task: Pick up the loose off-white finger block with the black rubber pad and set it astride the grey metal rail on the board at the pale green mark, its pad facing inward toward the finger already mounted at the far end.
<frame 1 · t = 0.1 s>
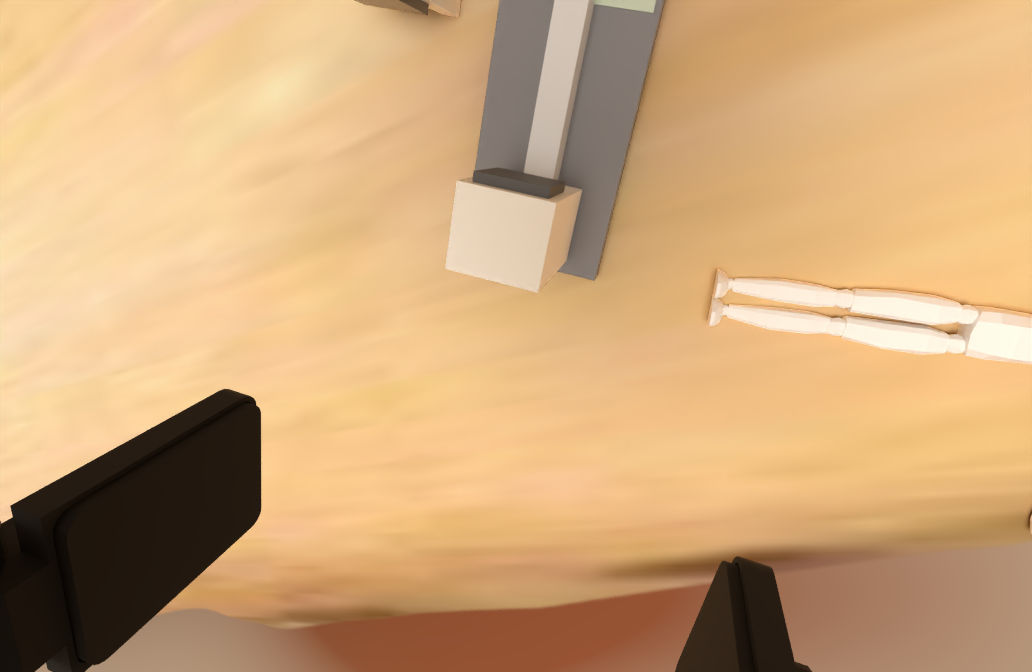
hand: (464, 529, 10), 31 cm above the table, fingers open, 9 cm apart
articulated figure: (950, 322, 35), on the table
rail board: (567, 79, 36), on the table
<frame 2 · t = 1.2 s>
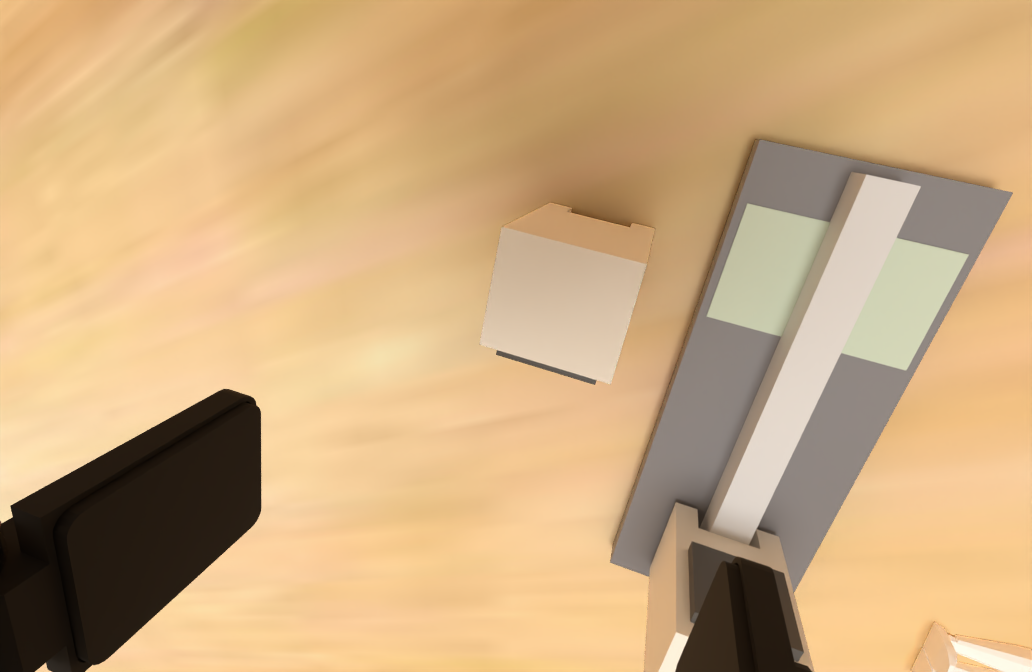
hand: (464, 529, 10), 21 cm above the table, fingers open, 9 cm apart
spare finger: (589, 261, 29), on the table
rail board: (765, 402, 29), on the table
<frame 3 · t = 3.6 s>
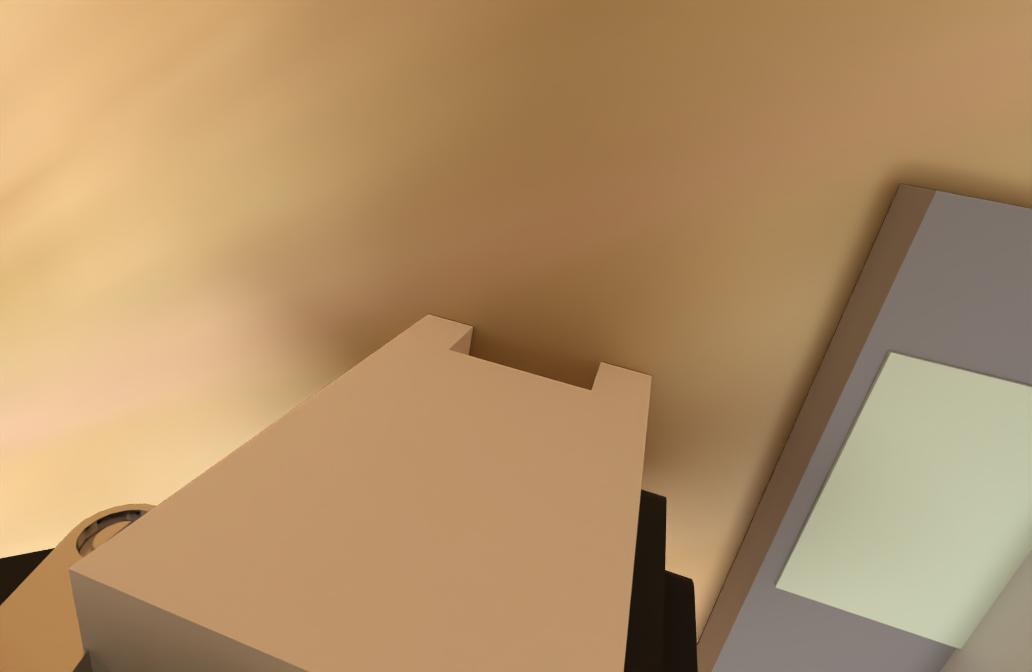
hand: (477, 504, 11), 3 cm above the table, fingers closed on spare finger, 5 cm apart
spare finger: (517, 431, 14), on the table, touching gripper
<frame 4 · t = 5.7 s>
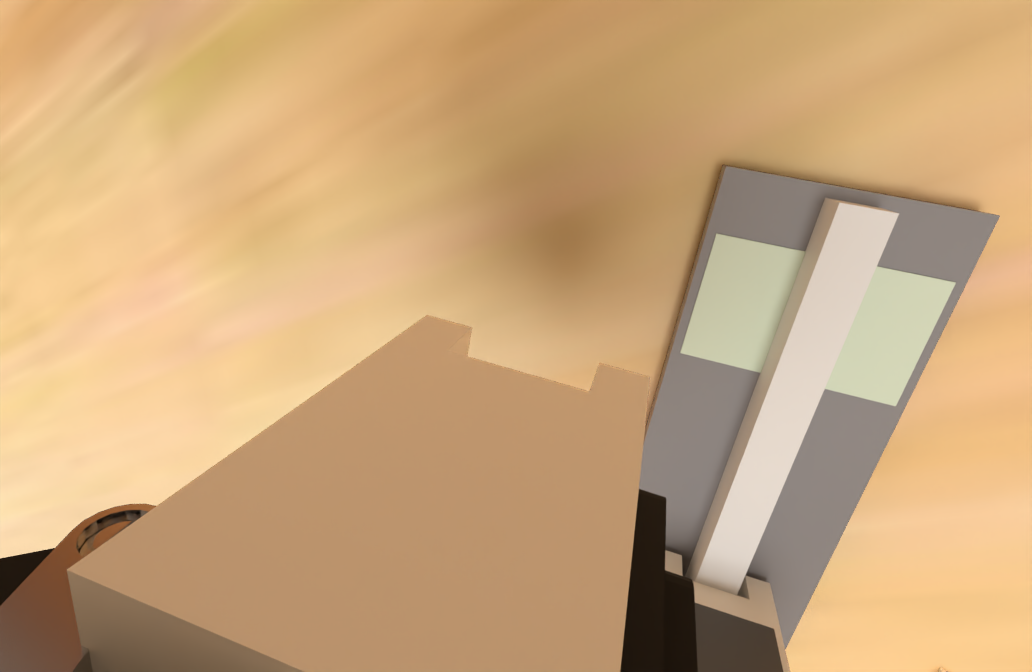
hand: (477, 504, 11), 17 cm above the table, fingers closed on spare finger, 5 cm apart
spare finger: (515, 432, 14), point 14 cm above the table, touching gripper
rail board: (749, 440, 27), on the table
when the fingers open (6 cm above the table, at t = 8.2 s): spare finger stays where it is, resting on rail board.
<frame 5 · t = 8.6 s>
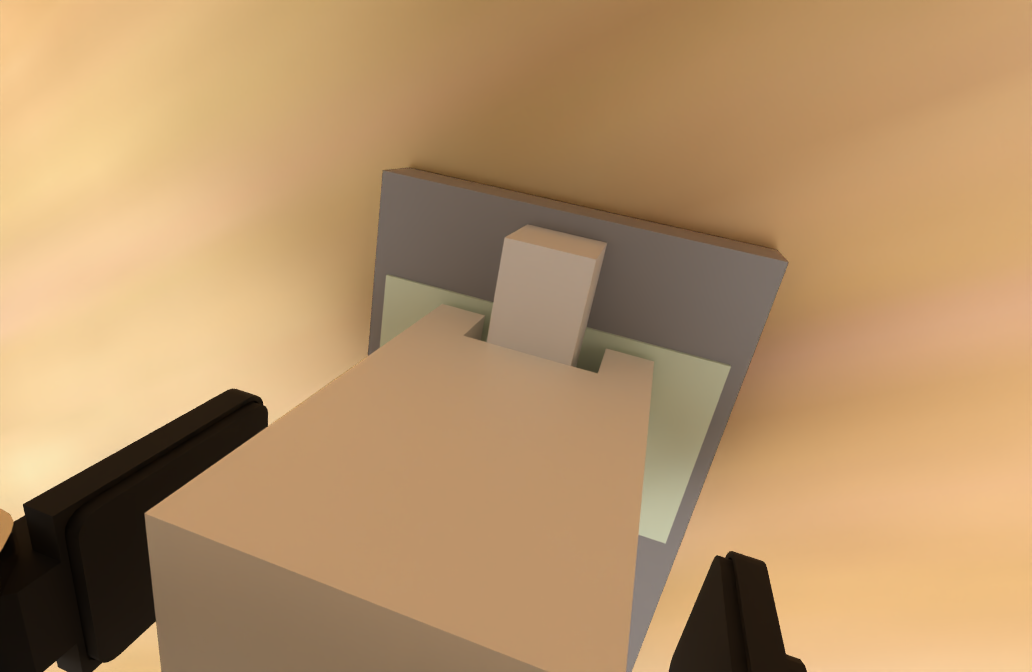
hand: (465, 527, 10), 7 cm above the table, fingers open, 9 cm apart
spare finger: (526, 415, 15), point 2 cm above the table, touching rail board
rail board: (502, 560, 19), on the table
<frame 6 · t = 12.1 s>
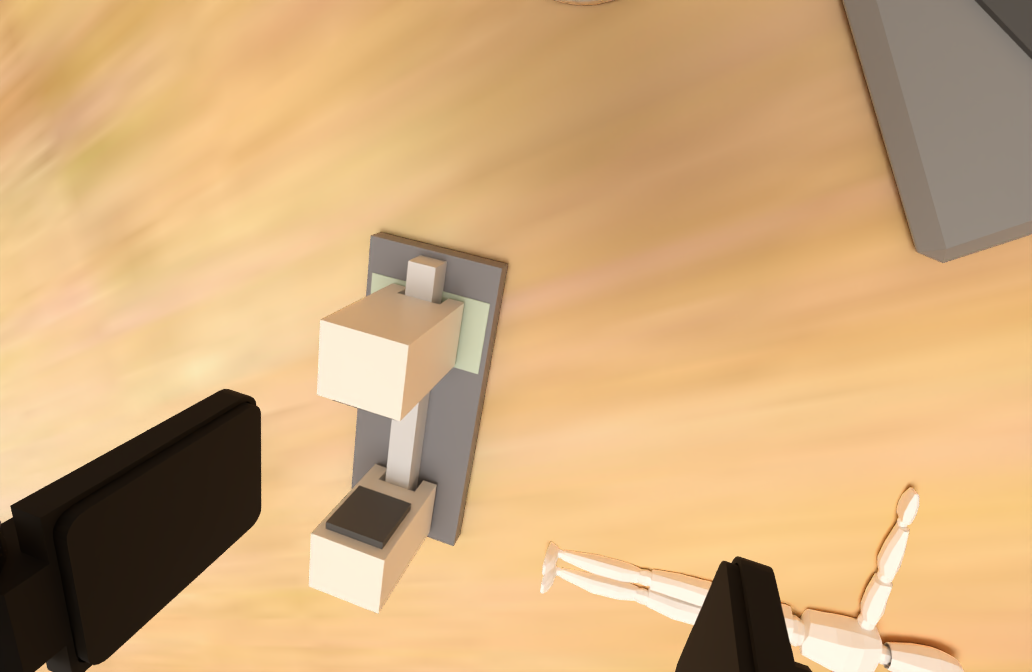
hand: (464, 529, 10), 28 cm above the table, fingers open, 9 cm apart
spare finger: (423, 324, 40), point 2 cm above the table, touching rail board
articulated figure: (732, 596, 43), on the table
rail board: (423, 396, 44), on the table
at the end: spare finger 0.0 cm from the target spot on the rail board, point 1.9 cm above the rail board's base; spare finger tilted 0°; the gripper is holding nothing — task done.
